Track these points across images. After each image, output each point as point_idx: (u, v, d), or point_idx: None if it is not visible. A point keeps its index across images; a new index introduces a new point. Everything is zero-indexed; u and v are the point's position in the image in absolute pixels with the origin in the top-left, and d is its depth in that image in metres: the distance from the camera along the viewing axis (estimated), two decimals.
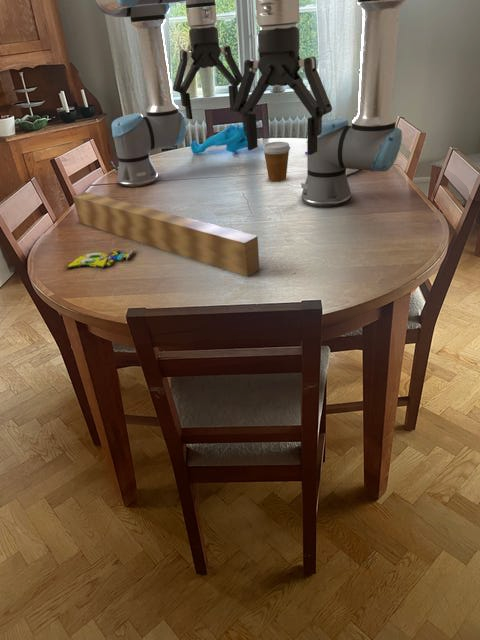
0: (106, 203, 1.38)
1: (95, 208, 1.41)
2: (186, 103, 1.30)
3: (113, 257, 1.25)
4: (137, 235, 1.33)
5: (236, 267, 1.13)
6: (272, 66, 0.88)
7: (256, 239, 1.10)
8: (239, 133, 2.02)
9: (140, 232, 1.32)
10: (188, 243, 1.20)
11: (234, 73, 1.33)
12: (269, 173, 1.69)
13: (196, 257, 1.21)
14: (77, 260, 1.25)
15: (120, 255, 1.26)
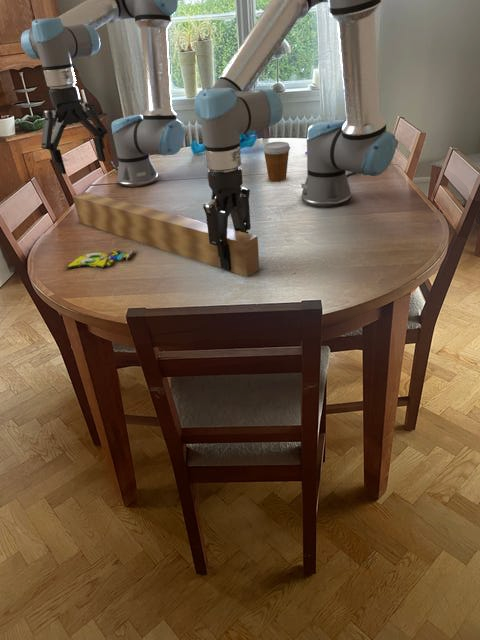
0: (106, 203, 1.38)
1: (95, 208, 1.41)
2: (58, 159, 1.32)
3: (113, 257, 1.25)
4: (137, 235, 1.33)
5: (236, 267, 1.13)
6: (228, 196, 1.06)
7: (256, 239, 1.10)
8: None
9: (140, 232, 1.32)
10: (188, 243, 1.20)
11: (97, 126, 1.39)
12: (269, 173, 1.69)
13: (196, 257, 1.21)
14: (77, 260, 1.25)
15: (120, 255, 1.26)
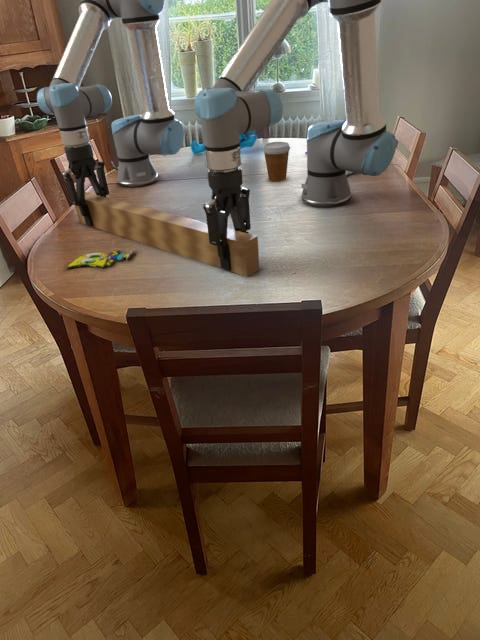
0: (106, 203, 1.38)
1: (95, 208, 1.41)
2: (86, 213, 1.44)
3: (113, 257, 1.25)
4: (137, 235, 1.33)
5: (236, 267, 1.13)
6: (228, 196, 1.06)
7: (256, 239, 1.10)
8: None
9: (140, 232, 1.32)
10: (188, 243, 1.20)
11: (101, 185, 1.46)
12: (269, 173, 1.69)
13: (196, 257, 1.21)
14: (77, 260, 1.25)
15: (120, 255, 1.26)
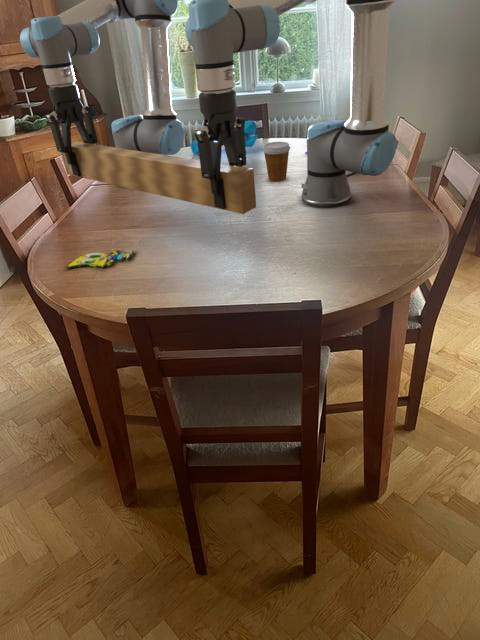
0: (93, 149, 1.30)
1: (82, 155, 1.33)
2: (73, 161, 1.36)
3: (113, 257, 1.25)
4: (126, 180, 1.25)
5: (230, 204, 1.05)
6: (221, 122, 0.97)
7: (252, 173, 1.02)
8: None
9: (129, 177, 1.24)
10: (180, 183, 1.12)
11: (89, 133, 1.38)
12: (269, 173, 1.69)
13: (188, 198, 1.13)
14: (77, 260, 1.25)
15: (120, 255, 1.26)
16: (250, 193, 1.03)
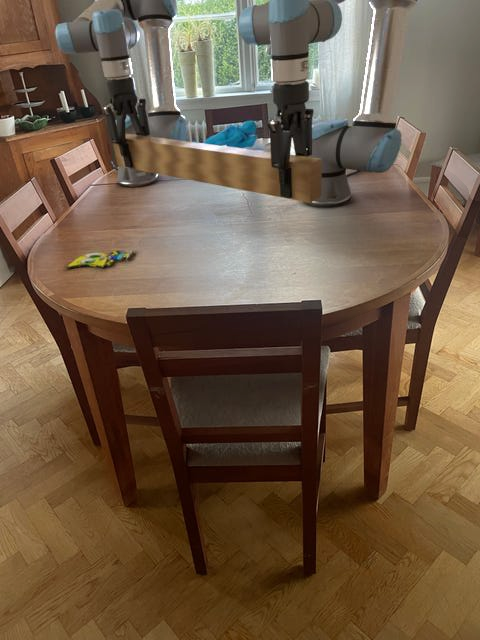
0: (149, 140, 1.32)
1: (136, 147, 1.35)
2: (126, 153, 1.38)
3: (113, 257, 1.25)
4: (184, 171, 1.27)
5: (297, 194, 1.07)
6: (293, 113, 1.00)
7: (320, 162, 1.04)
8: (239, 133, 2.02)
9: (187, 168, 1.26)
10: (243, 173, 1.14)
11: (142, 125, 1.40)
12: None
13: (251, 188, 1.15)
14: (77, 260, 1.25)
15: (120, 255, 1.26)
16: (317, 182, 1.06)
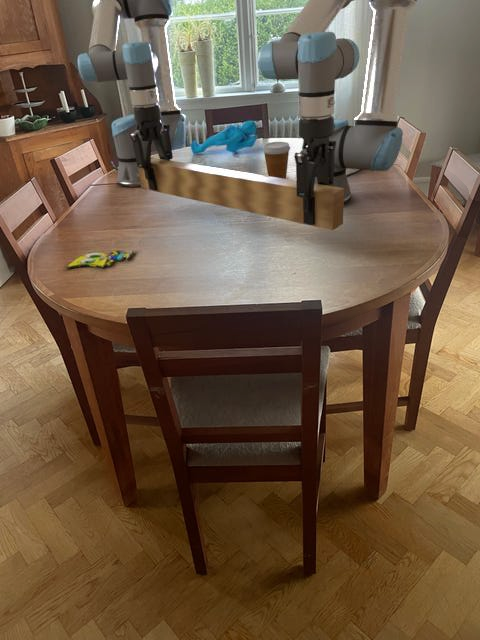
0: (174, 165, 1.37)
1: (161, 171, 1.40)
2: (150, 177, 1.43)
3: (113, 257, 1.25)
4: (208, 195, 1.32)
5: (320, 221, 1.12)
6: (318, 145, 1.04)
7: (342, 192, 1.09)
8: (239, 133, 2.02)
9: (211, 193, 1.31)
10: (267, 200, 1.19)
11: (166, 149, 1.45)
12: (269, 173, 1.69)
13: (274, 214, 1.20)
14: (77, 260, 1.25)
15: (120, 255, 1.26)
16: (339, 211, 1.10)
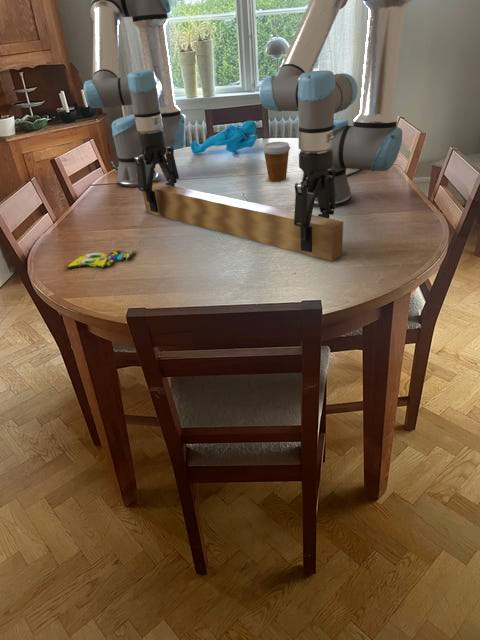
0: (178, 192, 1.41)
1: (166, 197, 1.44)
2: (152, 199, 1.45)
3: (113, 257, 1.25)
4: (211, 222, 1.36)
5: (320, 252, 1.16)
6: (318, 177, 1.08)
7: (341, 225, 1.13)
8: (239, 133, 2.02)
9: (215, 220, 1.35)
10: (268, 229, 1.23)
11: (171, 170, 1.49)
12: (269, 173, 1.69)
13: (276, 243, 1.24)
14: (77, 260, 1.25)
15: (120, 255, 1.26)
16: (338, 242, 1.15)
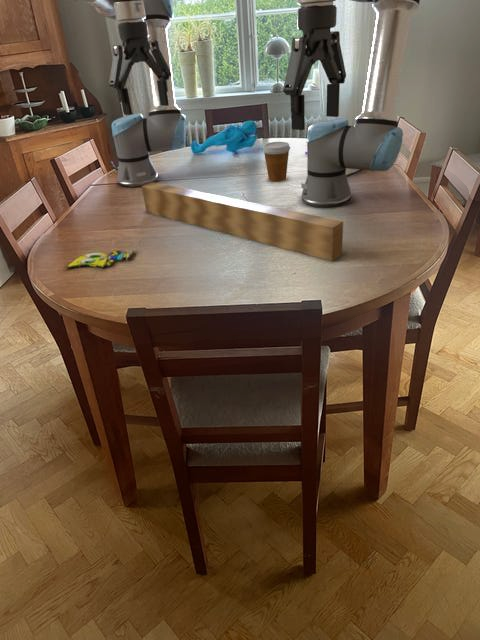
0: (178, 192, 1.41)
1: (166, 197, 1.44)
2: (124, 98, 1.28)
3: (113, 257, 1.25)
4: (211, 222, 1.36)
5: (320, 252, 1.16)
6: (320, 41, 0.94)
7: (341, 225, 1.13)
8: (239, 133, 2.02)
9: (215, 220, 1.35)
10: (268, 229, 1.23)
11: (162, 68, 1.35)
12: (269, 173, 1.69)
13: (276, 243, 1.24)
14: (77, 260, 1.25)
15: (120, 255, 1.26)
16: (338, 242, 1.15)
